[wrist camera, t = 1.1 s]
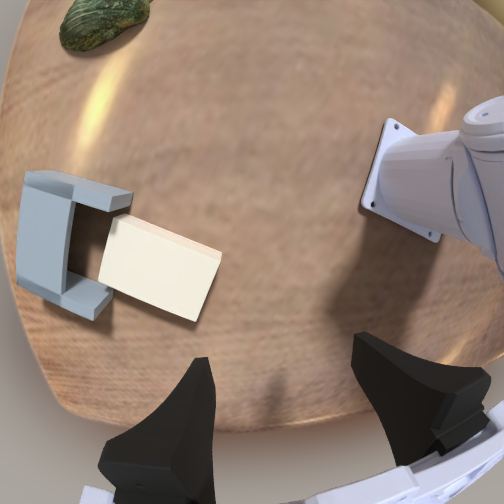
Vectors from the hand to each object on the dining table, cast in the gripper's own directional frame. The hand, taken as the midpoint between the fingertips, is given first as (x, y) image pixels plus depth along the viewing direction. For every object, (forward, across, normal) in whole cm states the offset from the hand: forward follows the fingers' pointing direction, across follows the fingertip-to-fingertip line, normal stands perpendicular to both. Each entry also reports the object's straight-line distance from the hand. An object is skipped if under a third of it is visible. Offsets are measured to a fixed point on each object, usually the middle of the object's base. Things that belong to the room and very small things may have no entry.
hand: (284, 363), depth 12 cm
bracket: (+9, +14, -6) cm, 18 cm away
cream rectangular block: (+10, +7, -3) cm, 13 cm away
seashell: (+10, +11, -27) cm, 31 cm away
